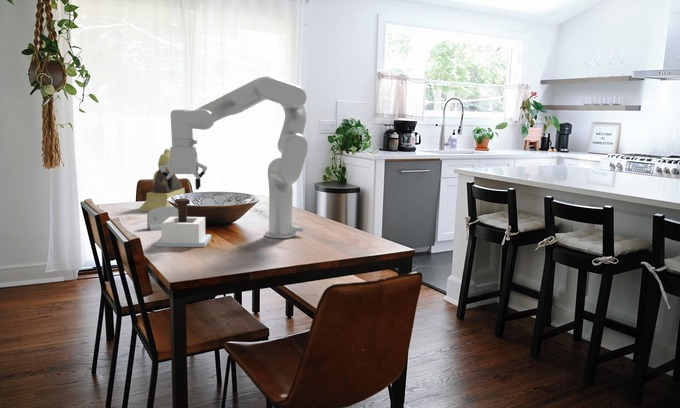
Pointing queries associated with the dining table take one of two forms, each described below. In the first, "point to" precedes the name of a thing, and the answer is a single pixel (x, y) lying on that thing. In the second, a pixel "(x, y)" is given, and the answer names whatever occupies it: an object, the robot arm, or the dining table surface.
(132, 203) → the dining table surface
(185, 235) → the socket post
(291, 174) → the robot arm
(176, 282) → the dining table surface
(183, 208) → the bolt
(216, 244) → the dining table surface
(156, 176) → the yellow and brown statue
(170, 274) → the dining table surface
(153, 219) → the grey arched bracket
